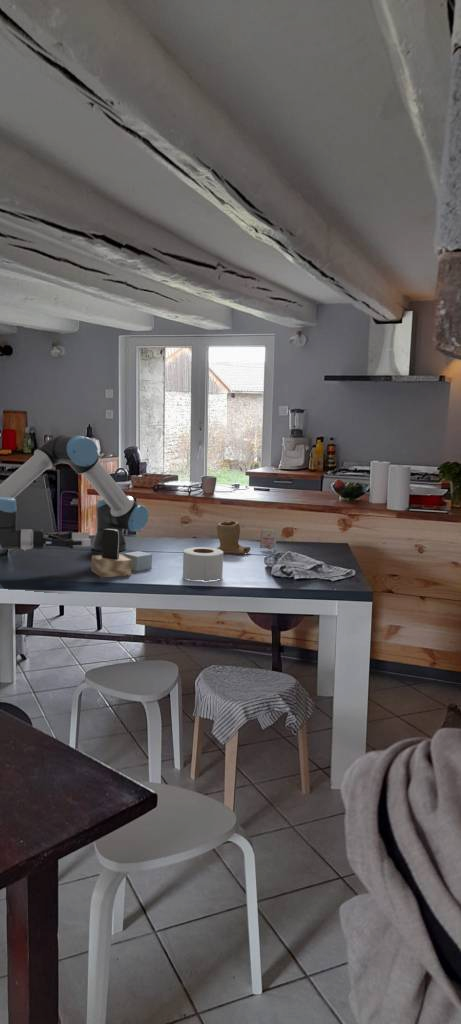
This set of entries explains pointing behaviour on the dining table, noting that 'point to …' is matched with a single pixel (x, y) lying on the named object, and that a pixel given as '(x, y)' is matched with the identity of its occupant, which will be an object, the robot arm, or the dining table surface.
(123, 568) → the oak block
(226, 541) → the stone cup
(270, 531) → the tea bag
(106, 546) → the battery charger
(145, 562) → the slate-blue block
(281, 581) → the dining table surface
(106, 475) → the robot arm
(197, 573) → the toilet paper roll
